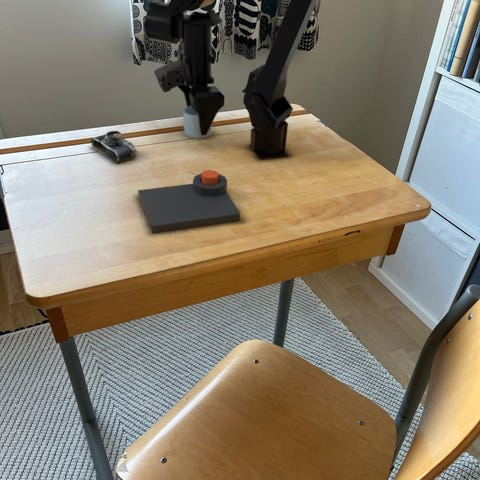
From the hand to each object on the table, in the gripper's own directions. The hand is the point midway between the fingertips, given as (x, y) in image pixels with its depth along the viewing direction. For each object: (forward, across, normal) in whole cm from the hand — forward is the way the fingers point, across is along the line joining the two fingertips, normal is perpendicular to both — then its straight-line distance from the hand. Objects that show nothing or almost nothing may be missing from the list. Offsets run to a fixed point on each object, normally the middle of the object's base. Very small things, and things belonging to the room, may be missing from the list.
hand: (197, 126), depth 111 cm
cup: (+2, 0, 0) cm, 2 cm away
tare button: (-1, +26, -5) cm, 27 cm away
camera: (+2, +5, -19) cm, 20 cm away
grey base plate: (+2, +30, -10) cm, 32 cm away
